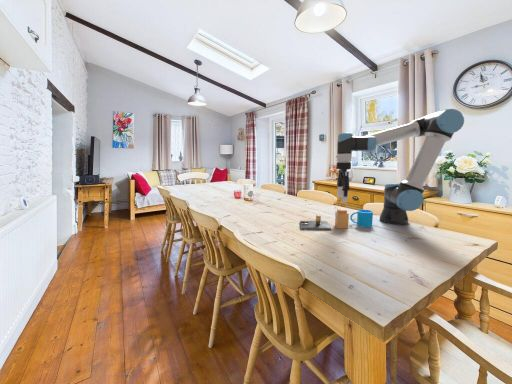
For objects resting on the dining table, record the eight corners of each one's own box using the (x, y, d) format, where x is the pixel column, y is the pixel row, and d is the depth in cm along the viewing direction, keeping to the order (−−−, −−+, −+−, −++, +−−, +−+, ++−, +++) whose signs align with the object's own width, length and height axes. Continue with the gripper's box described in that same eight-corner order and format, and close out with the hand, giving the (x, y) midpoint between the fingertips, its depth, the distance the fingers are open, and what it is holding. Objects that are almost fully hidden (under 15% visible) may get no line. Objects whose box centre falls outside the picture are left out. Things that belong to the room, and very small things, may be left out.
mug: (371, 223, 145) (371, 209, 143) (373, 227, 137) (374, 213, 136) (349, 222, 148) (350, 209, 147) (350, 225, 140) (351, 212, 139)
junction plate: (327, 222, 147) (327, 212, 146) (330, 230, 133) (331, 219, 132) (300, 222, 149) (300, 212, 148) (301, 229, 135) (301, 218, 134)
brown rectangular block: (345, 225, 142) (346, 208, 140) (348, 228, 136) (348, 210, 134) (335, 225, 143) (335, 208, 141) (337, 228, 137) (337, 210, 135)
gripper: (332, 161, 146) (331, 196, 150) (341, 162, 122) (339, 204, 125) (345, 161, 145) (344, 196, 148) (357, 162, 121) (354, 204, 124)
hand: (342, 200), depth 137 cm, fingers open, 13 cm apart
